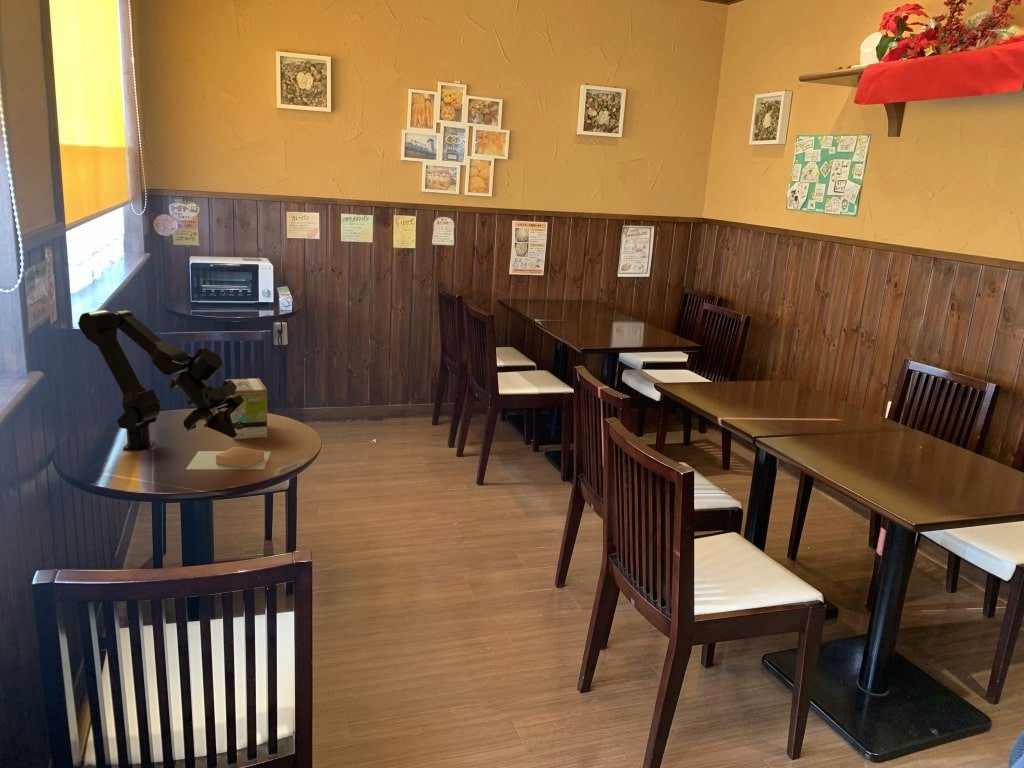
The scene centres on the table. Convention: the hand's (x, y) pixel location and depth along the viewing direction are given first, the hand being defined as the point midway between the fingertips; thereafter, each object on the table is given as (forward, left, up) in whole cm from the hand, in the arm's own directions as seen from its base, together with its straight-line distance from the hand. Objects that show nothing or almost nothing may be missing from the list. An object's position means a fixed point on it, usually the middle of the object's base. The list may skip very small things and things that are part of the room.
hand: (235, 436), depth 202 cm
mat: (-1, -2, -7) cm, 7 cm away
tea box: (-27, -2, -7) cm, 28 cm away
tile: (-1, -3, -5) cm, 6 cm away
